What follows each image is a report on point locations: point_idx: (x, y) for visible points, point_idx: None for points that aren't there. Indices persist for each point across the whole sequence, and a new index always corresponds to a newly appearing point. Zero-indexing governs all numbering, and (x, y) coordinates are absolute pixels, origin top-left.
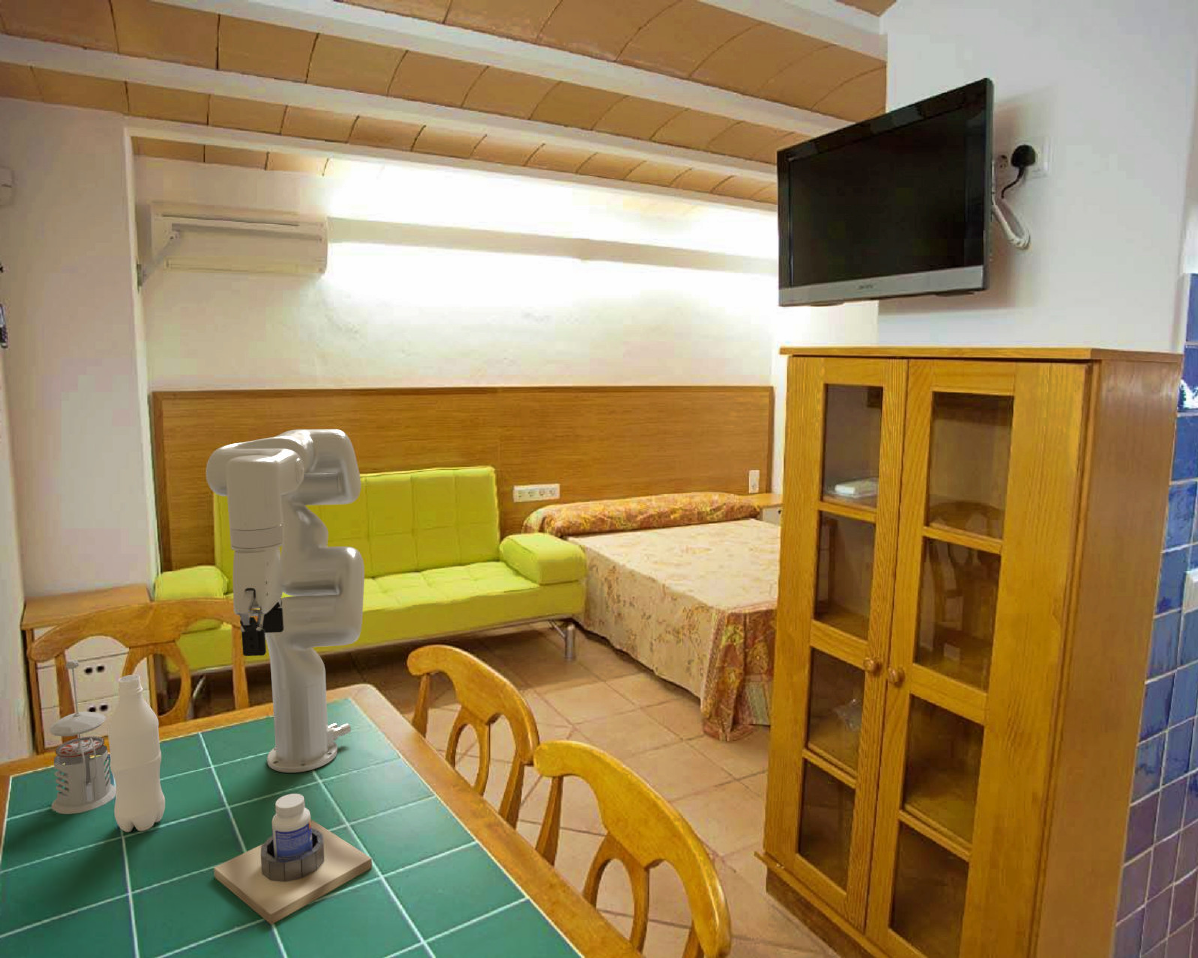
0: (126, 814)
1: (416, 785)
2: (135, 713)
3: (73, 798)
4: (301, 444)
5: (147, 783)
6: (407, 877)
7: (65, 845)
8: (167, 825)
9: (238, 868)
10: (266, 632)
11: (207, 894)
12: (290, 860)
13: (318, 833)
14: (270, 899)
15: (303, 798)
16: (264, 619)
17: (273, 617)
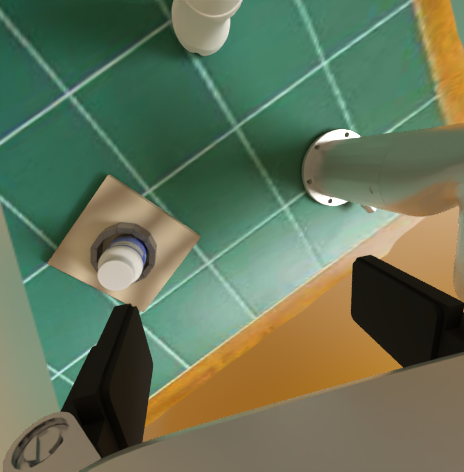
0: (173, 11)
1: (272, 297)
2: None
3: None
4: None
5: (190, 22)
6: None
7: None
8: (197, 69)
9: (110, 201)
10: (355, 268)
11: (82, 180)
12: (95, 267)
13: (145, 273)
14: (68, 253)
15: (122, 289)
16: (392, 293)
17: (395, 333)
